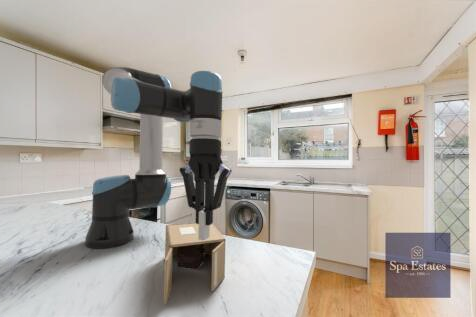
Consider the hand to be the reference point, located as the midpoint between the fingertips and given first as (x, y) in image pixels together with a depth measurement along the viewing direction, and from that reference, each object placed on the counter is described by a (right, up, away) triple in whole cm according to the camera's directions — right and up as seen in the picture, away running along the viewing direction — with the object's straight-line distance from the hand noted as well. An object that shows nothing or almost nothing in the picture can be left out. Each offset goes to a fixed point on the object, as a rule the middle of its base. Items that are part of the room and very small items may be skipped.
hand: (203, 238), depth 52 cm
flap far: (+3, -11, +1) cm, 12 cm away
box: (-6, -12, +11) cm, 17 cm away
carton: (-5, -12, +10) cm, 16 cm away
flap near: (-7, -11, -4) cm, 14 cm away
